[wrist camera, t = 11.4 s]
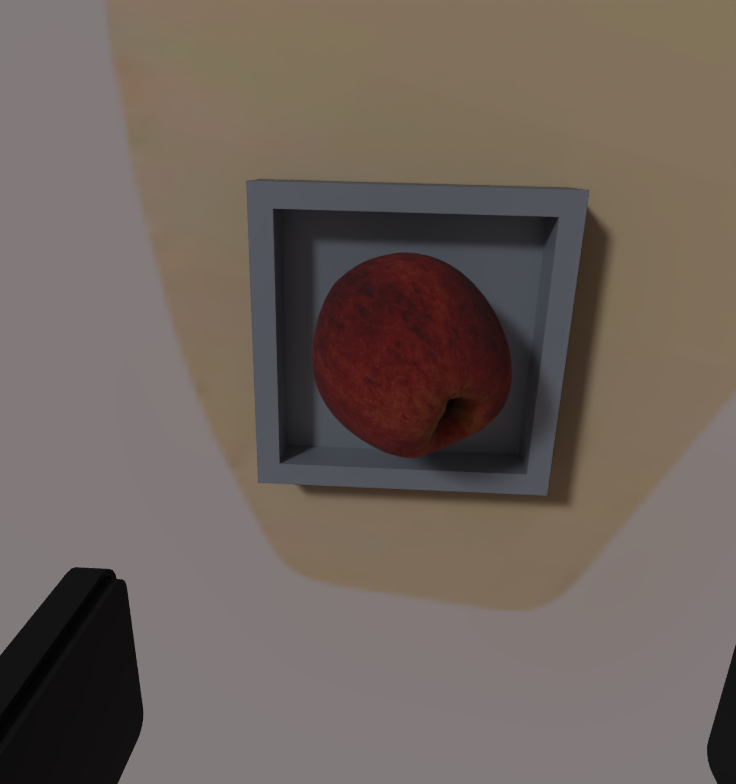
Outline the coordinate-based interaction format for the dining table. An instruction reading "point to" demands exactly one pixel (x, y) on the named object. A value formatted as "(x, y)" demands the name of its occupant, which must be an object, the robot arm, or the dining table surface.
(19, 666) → the robot arm
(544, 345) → the tray
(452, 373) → the apple
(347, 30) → the dining table surface
